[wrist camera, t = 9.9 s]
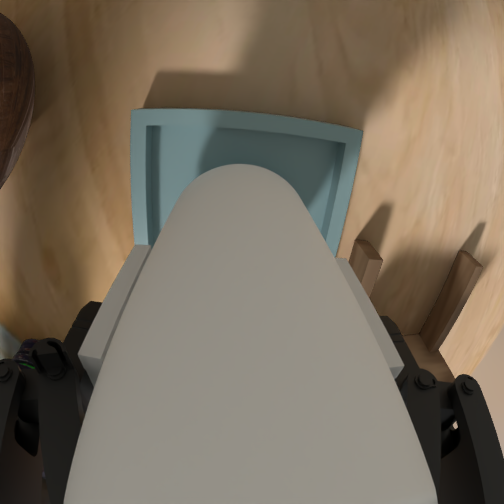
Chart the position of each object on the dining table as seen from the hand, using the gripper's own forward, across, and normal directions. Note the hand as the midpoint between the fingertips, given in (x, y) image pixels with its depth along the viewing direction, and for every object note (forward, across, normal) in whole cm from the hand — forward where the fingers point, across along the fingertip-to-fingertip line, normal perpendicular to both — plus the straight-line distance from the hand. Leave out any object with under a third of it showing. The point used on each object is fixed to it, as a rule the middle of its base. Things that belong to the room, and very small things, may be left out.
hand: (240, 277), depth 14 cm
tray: (+8, 0, 0) cm, 8 cm away
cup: (+5, 0, 0) cm, 5 cm away
